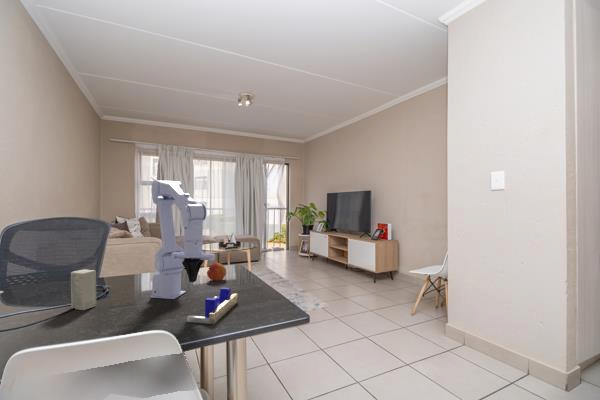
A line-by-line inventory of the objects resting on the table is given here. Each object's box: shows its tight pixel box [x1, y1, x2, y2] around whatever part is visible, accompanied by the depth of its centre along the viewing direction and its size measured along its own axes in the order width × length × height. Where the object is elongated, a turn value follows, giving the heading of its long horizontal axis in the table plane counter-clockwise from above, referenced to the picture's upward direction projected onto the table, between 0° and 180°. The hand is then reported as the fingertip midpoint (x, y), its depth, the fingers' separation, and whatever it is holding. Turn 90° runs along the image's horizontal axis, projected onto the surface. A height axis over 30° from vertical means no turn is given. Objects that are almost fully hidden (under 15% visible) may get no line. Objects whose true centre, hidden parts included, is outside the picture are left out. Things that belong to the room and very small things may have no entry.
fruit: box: [206, 262, 227, 282], centre depth 126 cm, size 8×8×8 cm
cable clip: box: [204, 287, 232, 317], centre depth 91 cm, size 12×4×6 cm, turn 171°
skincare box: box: [70, 268, 97, 311], centre depth 93 cm, size 6×4×12 cm
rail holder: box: [186, 293, 239, 325], centre depth 91 cm, size 8×18×3 cm, turn 171°
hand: (192, 281), depth 92 cm, fingers closed
